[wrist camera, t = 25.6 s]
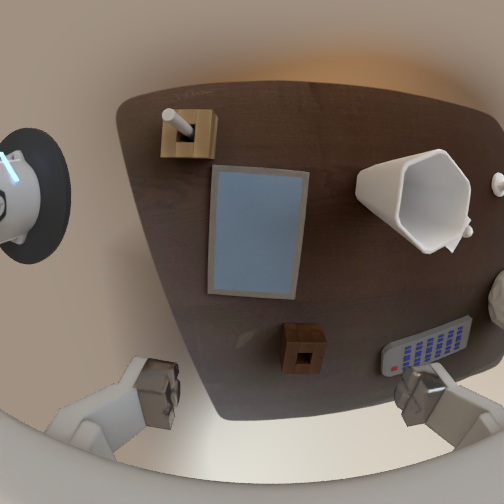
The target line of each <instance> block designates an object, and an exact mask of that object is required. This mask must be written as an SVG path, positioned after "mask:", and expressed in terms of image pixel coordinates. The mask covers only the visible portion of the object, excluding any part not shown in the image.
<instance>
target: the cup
mask: <svg viewBox="0 0 504 504" xmlns="http://www.w3.org/2000/svg"><path fill="white" fill-rule="evenodd" d="M470 194H471V187H470V183H469V180H468V179H467V178H466V176H465V175H464V174H463V172H462V171H461V170H460V168H459V167H458V166H457V165H456V163H455V162H454V161H453V160H452V158H451V157H450V156H449V155H448V153H447V152H446V151H444V150H441V149H437V150H433V151H428V152H424V153H420V154H416V155H412V156H408V157H404V158H400V159H396V160H392V161H388V162H384V163H380V164H377V165H374V166H371V167H369V168H366V169H364V170H361V171H360V173H359V174H358V175H357V183H356V191H355V195H356V197H357V199H358V200H359V201H360V202H361V203H362V204H363V205H364V206H366V207H367V208H368V209H369V210H370V211H371V212H373V213H374V214H375V215H377V216H378V217H379V218H381V219H382V220H383V221H385V222H386V223H387V224H388V225H390V226H391V227H392V228H393V229H395V230H396V231H397V232H399V233H400V234H401V235H402V236H403V237H405V238H406V239H407V240H408V241H410V242H411V243H412V244H413V245H414V246H416V247H417V248H418V249H419V250H420V251H422V252H423V253H425V254H431V253H433V252H435V251H437V250H438V249H440V248H442V247H444V246H446V245H447V244H449V243H451V242H453V241H454V240H456V239H458V238H460V237H461V235H462V234H463V232H464V230H465V225H466V219H467V214H468V208H469V201H470Z"/></svg>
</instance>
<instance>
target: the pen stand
mask: <svg viewBox="0 0 504 504" xmlns="http://www.w3.org/2000/svg"><path fill="white" fill-rule="evenodd" d="M326 346H327V341H326V339H325V336H324V334H323V331H322V328H321V326H320V324H301V323H283V330H282V337H281V344H280V350H279V355H280V363H281V372H282V373H286V374H293V373H294V374H319V373H320V370H321V366H322V362H323V358H324V354H325V350H326Z"/></svg>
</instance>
